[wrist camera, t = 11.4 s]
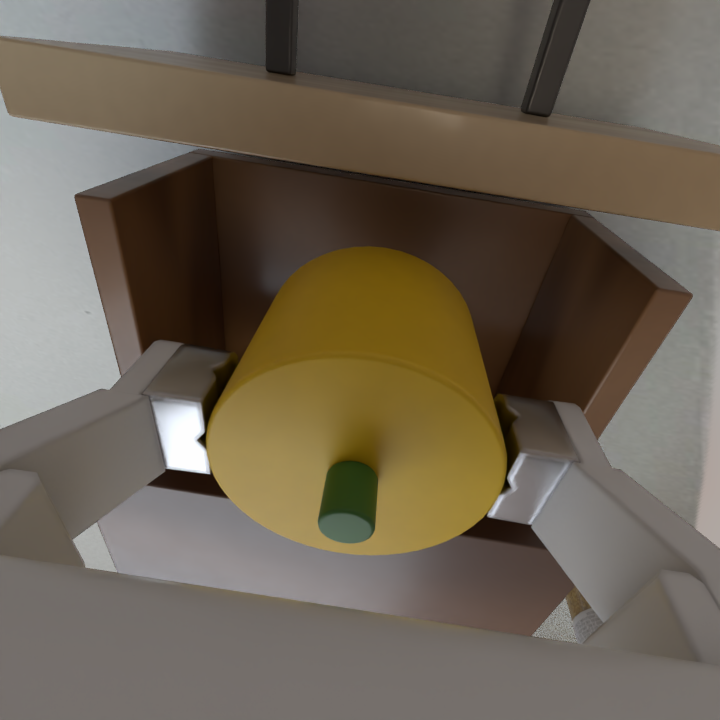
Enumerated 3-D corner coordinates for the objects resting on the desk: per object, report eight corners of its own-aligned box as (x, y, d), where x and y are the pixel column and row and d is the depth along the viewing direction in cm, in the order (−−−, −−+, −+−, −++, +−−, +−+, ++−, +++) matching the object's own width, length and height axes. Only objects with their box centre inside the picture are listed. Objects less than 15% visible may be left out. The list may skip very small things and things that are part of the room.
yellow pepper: (268, 227, 9) (149, 370, 5) (502, 264, 9) (588, 438, 5) (269, 403, 12) (197, 584, 8) (444, 430, 12) (466, 625, 8)
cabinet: (197, 326, 19) (75, 473, 12) (529, 379, 19) (600, 557, 12) (219, 521, 28) (157, 670, 21) (445, 557, 28) (458, 719, 21)
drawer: (144, -197, 10) (-207, -558, 4) (748, -99, 10) (1205, -326, 4) (209, 407, 21) (137, 529, 15) (491, 453, 21) (523, 591, 15)
